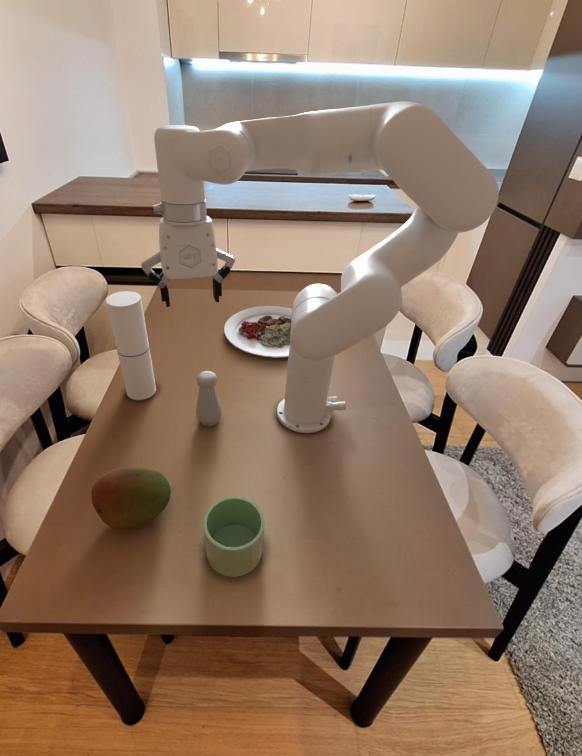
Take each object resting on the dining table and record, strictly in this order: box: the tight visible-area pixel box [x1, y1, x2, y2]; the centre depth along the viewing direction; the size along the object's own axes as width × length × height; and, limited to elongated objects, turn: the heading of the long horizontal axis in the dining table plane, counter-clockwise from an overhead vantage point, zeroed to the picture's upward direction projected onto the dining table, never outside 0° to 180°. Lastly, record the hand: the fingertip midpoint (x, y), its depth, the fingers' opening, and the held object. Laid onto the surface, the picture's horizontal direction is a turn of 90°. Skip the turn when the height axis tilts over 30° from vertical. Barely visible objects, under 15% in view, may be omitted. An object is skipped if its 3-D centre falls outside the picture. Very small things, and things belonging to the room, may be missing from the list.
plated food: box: [223, 305, 292, 359], centre depth 121 cm, size 30×30×3 cm
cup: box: [202, 496, 265, 578], centre depth 65 cm, size 9×9×8 cm
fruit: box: [90, 466, 172, 531], centre depth 69 cm, size 12×13×10 cm
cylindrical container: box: [105, 290, 157, 401], centre depth 92 cm, size 7×7×25 cm
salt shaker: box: [195, 370, 223, 427], centre depth 87 cm, size 6×6×13 cm
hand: (192, 301), depth 79 cm, fingers open, 9 cm apart
